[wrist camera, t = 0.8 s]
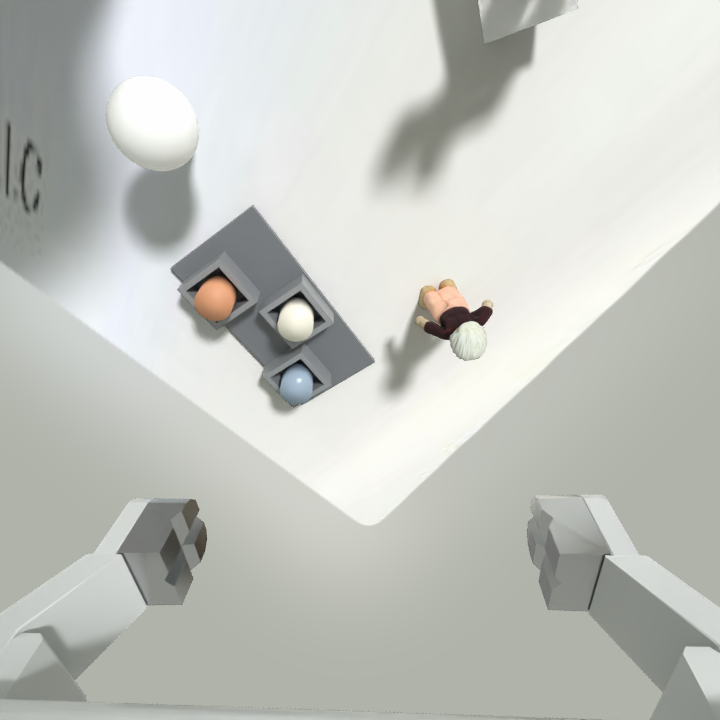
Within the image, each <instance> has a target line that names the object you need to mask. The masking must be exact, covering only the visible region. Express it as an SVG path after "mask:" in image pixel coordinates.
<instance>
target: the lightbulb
mask: <svg viewBox="0 0 720 720" xmlns="http://www.w3.org/2000/svg"><path fill="white" fill-rule="evenodd" d="M106 118H107V125H108V129H109V132H110V135H111V137H112V139H113V141H114V143H115V144H116V146H117V147H118V148H119V150H120V151H121V152H122V153H123V154H124V155H125V156H126V157H127V158H129V159H130V160H131V161H132V162H134V163H136V164H137V165H139V166H141V167H143V168H146V169H149V170H154V171H171V170H175V169H177V168H179V167H181V166H183V165H184V164H185V163H187V162H188V161H189V160H190V159H191V157H192V156H193V155H194V153H195V150H196V148H197V144H198V140H199V126H198V121H197V117H196V114H195V112H194V110H193V108H192V106H191V104H190V103H189V102H188V100H187V99H186V98H185V96H184V95H183V94H182V93H181V92H180V91H178V90H177V89H176V88H175V87H174V86H172V85H171V84H169V83H168V82H166V81H163V80H161V79H159V78H155V77H150V76H137V77H132V78H129V79H127V80H125V81H123V82H122V83H121V84H120V85H118V86H117V87H116V88H115V89H114V91H113V92H112V94H111V96H110V98H109V101H108V104H107V111H106Z"/></svg>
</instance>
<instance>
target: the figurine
mask: <svg viewBox="0 0 720 720" xmlns="http://www.w3.org/2000/svg"><path fill="white" fill-rule="evenodd" d="M478 4H479V11H480V18H481V25H482V32H483V40H484V45H485V44H488V43H490V42H493V41H495V40H498V39H501V38H503V37H506V36H508V35H511V34H514V33H516V32H519V31H521V30H524V29H527V28H529V27H532V26H534V25H537V24H540V23H542V22H545V21H547V20H550V19H553V18H555V17H558V16H560V15H563V14H566V13H568V12H571V11H573V10H576V9H578V0H478Z"/></svg>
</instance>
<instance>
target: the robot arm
mask: <svg viewBox="0 0 720 720" xmlns="http://www.w3.org/2000/svg"><path fill="white" fill-rule="evenodd" d="M530 508H531V511H532V514H533V518H532V519H530V520H529V521H528V529H527V538H528V546H529V551H530V556H531V559H532V562H533V564H534V565H535V566H536V567H537V568H539V569H540V570H541V571H540V577H539V584H540V587H541V590H542V593H543V596H544V599H545V602H546V605H547V608H548V610H565V611H567V610H568V611H589V615H590V616H591V617H592V618H593V619H594V620H595V621H596V622H597V623H598V624H599V625H600V626H601V627H602V628H603V629H604V630H605V632H606V633H608V635H609V636H610V637H611V638H612V639H613V640H614V641H615V642H616V643H617V644H618V645H619V646H620V648H621V649H622V650H623V651H624V652H625V653H626V654H627V655H628V656H629V657H630V658H631V659H632V660H633V661H634V662H635V664H637V666H638V667H639V668H640V669H641V670H642V671H643V672H644V673H645V674H646V675H647V676H648V677H649V678H650V679H651V681H652V682H653V683H654V684H655V685H656V686H657V687H658V688H659V689H660V690H661V691H662V692H663V694H662V696H661V698H660V700H659V702H658V704H657V706H656V709H655V710H654V712H653V714H652V717H651V719H650V720H720V608H719V607H718V606H716V605H715V604H714V603H712V602H711V601H709V600H708V599H706V598H705V597H704V596H702V595H701V594H700V593H698V592H697V591H695V590H694V589H693V588H691V587H690V586H689V585H687V584H686V583H684V582H683V581H681V580H680V579H679V578H677V577H676V576H674V575H673V574H671V573H670V572H669V571H668V570H666V569H665V568H663V567H662V566H660V565H659V564H658V563H656V562H655V561H654V560H652V559H651V558H649V557H648V556H640V555H639V554H638V552H637V550H636V548H635V547H634V545H633V543H632V542H631V540H630V538H629V537H628V535H627V533H626V531H625V530H624V528H623V526H622V524H621V523H620V521H619V519H618V517H617V516H616V514H615V512H614V510H613V509H612V507H611V505H610V504H609V502H608V500H607V499H606V497H604V496H603V495H579V496H578V495H550V496H534V497H533V498H532V501H531V507H530ZM198 512H199V507H198V505H197V502H196V500H193V499H160V498H159V499H158V498H156V499H155V498H154V499H139V498H137V499H136V498H135V499H133V500H132V501H130V502H129V503H128V504H127V506H126V507H125V509H124V510H123V511H122V513H121V514H120V516H119V517H118V519H117V520H116V522H115V523H114V524H113V526H112V528H111V529H110V530H109V532H108V533H107V535H106V536H105V538H104V539H103V541H102V542H101V543H100V545H99V546H98V548H97V549H96V551H95V552H94V554H87V555H85V556H84V557H83V558H81V559H79V560H78V561H76V562H75V563H73V564H72V565H70V566H69V567H68V568H66V569H65V570H63V571H62V572H60V573H59V574H57V575H56V576H55V577H53V578H51V579H50V580H48V581H47V582H46V583H44V584H43V585H41V586H40V587H38V588H37V589H35V590H34V591H32V592H31V593H29V594H28V595H26V596H25V597H24V598H22V599H21V600H19V601H18V602H16V603H15V604H13V605H12V606H10V607H9V608H8V609H6V610H4V611H3V612H2V613H0V720H599V719H569V718H541V717H511V716H484V715H483V716H482V715H455V714H454V715H453V714H426V713H425V714H424V713H399V712H396V713H395V712H370V711H341V710H312V709H311V710H310V709H282V708H281V709H280V708H253V707H223V706H221V707H220V706H194V705H165V704H135V703H106V702H87V700H86V695H85V694H84V692H83V691H82V690H81V688H80V687H79V686H78V684H77V683H76V681H75V679H77V678H78V676H80V674H82V672H84V670H85V669H87V667H88V666H89V665H90V664H91V663H92V662H93V661H94V660H95V659H96V658H97V657H98V656H99V655H100V654H101V653H102V652H103V651H104V650H105V649H106V648H107V647H108V646H109V645H110V644H111V643H112V642H113V641H114V640H115V639H116V638H117V637H118V636H119V635H120V634H121V633H122V632H123V631H124V630H125V629H126V628H127V627H128V626H129V625H130V624H131V623H132V622H133V621H134V620H135V619H136V618H137V617H138V616H139V615H140V614H141V613H142V612H143V611H144V610H145V609H146V608H147V605H182V603H183V601H184V599H185V596H186V594H187V592H188V590H189V588H190V585H191V583H192V581H193V576H192V572H191V570H192V569H193V568H194V567H195V566H196V565H197V564H199V563H200V562H201V560H202V557H203V554H204V552H205V548H206V541H207V533H206V527H205V524H204V522H203V521H201V520H200V519H199V518H197V517H196V516H197V514H198Z"/></svg>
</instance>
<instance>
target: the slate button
mask: <svg viewBox="0 0 720 720" xmlns="http://www.w3.org/2000/svg"><path fill="white" fill-rule="evenodd" d="M312 390H313V373H312V371H311V370H310V369H309V367H307V366H306V365H303V364H298V363H296V364H291V365H290V366H288V367H287V368H285V369H284V371H283V374H282V380H281V386H280V395H281V397H282V398H283V399H284V400H285V401H286V402H288V403H291V404H302V403H305V402H307V401H308V400H309V399H310V398H311V396H312Z"/></svg>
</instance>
